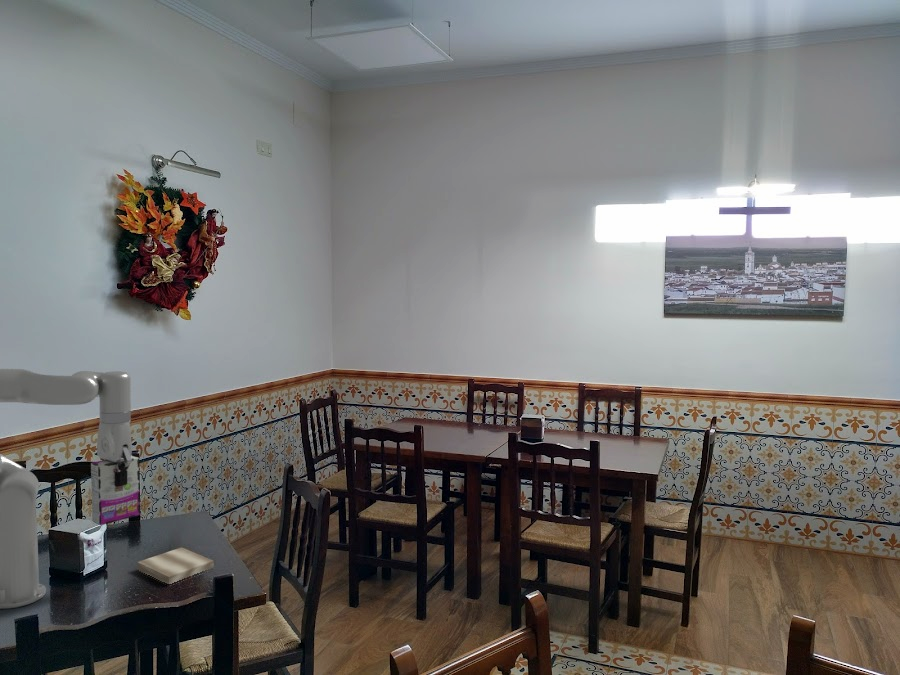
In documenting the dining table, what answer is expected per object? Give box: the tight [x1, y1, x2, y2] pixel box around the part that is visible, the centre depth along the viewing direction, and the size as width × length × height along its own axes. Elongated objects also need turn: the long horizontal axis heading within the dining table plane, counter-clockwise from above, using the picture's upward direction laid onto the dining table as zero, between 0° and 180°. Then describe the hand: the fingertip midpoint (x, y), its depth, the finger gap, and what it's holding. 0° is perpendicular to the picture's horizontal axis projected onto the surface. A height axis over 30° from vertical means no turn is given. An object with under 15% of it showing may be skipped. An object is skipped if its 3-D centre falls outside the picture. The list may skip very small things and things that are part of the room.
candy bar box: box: [90, 454, 141, 526], centre depth 185 cm, size 11×5×16 cm, turn 143°
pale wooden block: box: [137, 546, 215, 584], centre depth 196 cm, size 14×16×3 cm
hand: (115, 482), depth 185 cm, fingers closed on candy bar box, 5 cm apart
